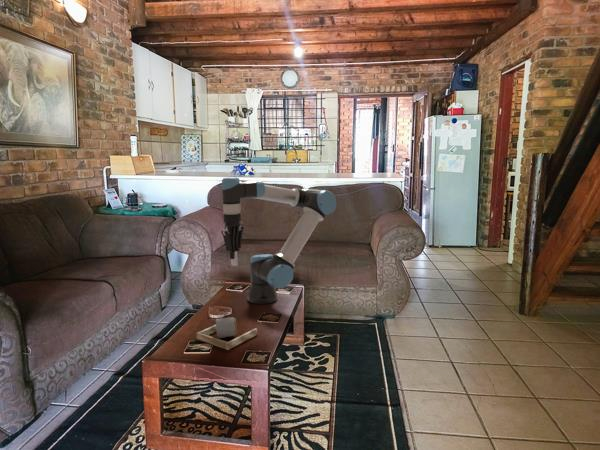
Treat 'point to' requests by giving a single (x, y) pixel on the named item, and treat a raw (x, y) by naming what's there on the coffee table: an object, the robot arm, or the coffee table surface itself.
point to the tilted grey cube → (226, 327)
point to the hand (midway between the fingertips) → (234, 265)
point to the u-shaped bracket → (220, 343)
